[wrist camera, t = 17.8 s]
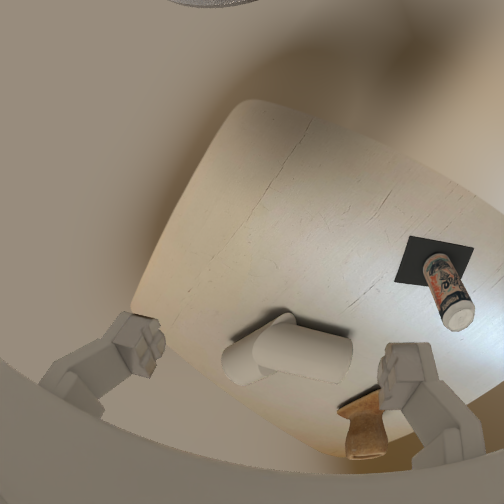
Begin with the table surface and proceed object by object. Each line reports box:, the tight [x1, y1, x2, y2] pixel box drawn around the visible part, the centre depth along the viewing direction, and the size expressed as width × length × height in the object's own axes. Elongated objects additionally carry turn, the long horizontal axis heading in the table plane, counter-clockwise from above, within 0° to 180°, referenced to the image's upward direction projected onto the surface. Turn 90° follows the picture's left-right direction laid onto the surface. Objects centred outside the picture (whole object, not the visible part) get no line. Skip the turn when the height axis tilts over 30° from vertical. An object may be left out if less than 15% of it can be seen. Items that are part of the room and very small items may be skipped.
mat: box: [394, 236, 474, 287], centre depth 37 cm, size 12×8×1 cm, turn 88°
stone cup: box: [337, 389, 388, 460], centre depth 52 cm, size 15×12×15 cm
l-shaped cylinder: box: [221, 313, 353, 386], centre depth 47 cm, size 18×11×20 cm
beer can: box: [423, 254, 475, 332], centre depth 32 cm, size 5×5×12 cm
